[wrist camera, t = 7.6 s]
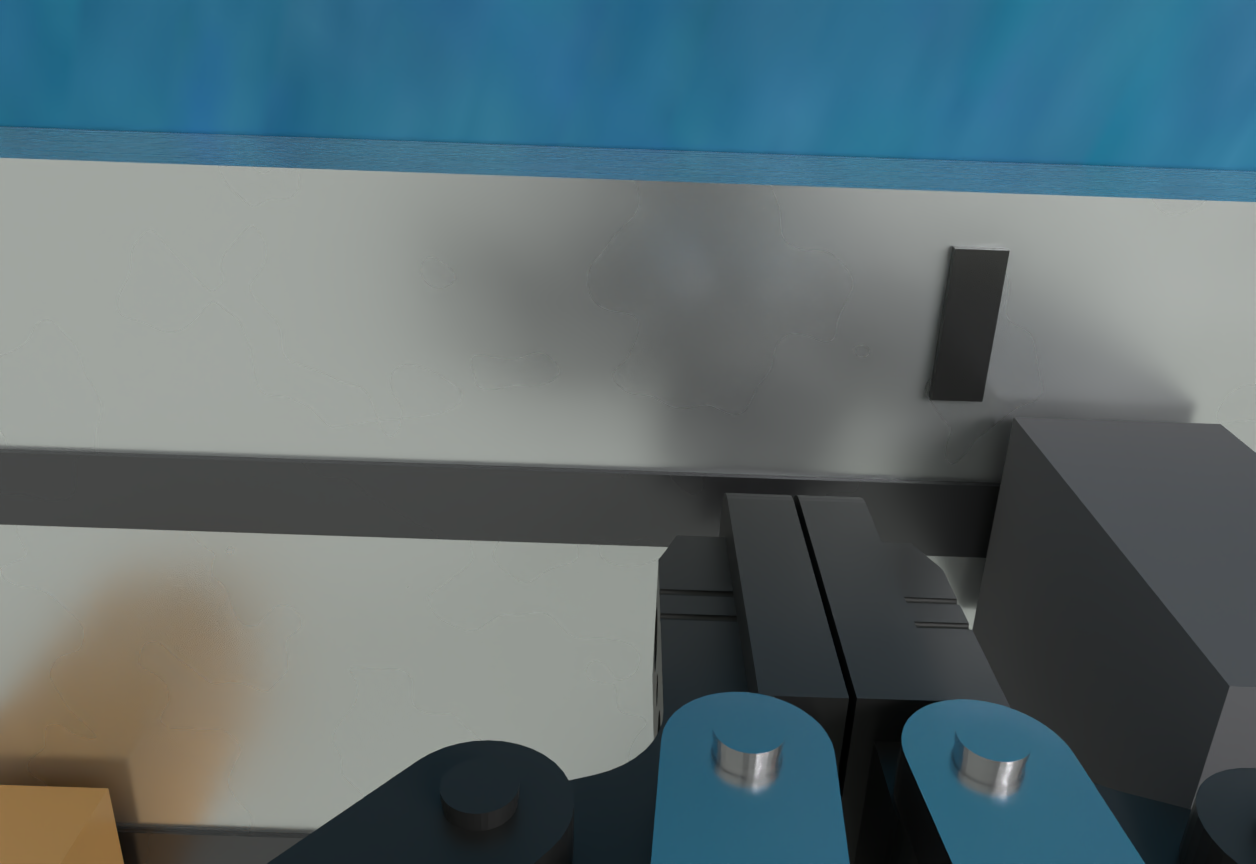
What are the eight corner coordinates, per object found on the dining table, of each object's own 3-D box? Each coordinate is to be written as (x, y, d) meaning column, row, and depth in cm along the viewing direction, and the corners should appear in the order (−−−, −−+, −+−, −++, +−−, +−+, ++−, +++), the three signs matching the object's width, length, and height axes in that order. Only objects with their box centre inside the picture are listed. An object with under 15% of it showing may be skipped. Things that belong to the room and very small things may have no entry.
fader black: (1013, 417, 12) (1243, 702, 8) (1220, 424, 12) (1577, 713, 8) (971, 633, 14) (1146, 996, 9) (1159, 639, 14) (1436, 1005, 9)
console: (-337, 114, 13) (-586, 156, 11) (1575, 182, 14) (1812, 241, 11) (-77, 927, 19) (-196, 1090, 16) (1269, 970, 19) (1373, 1139, 17)
